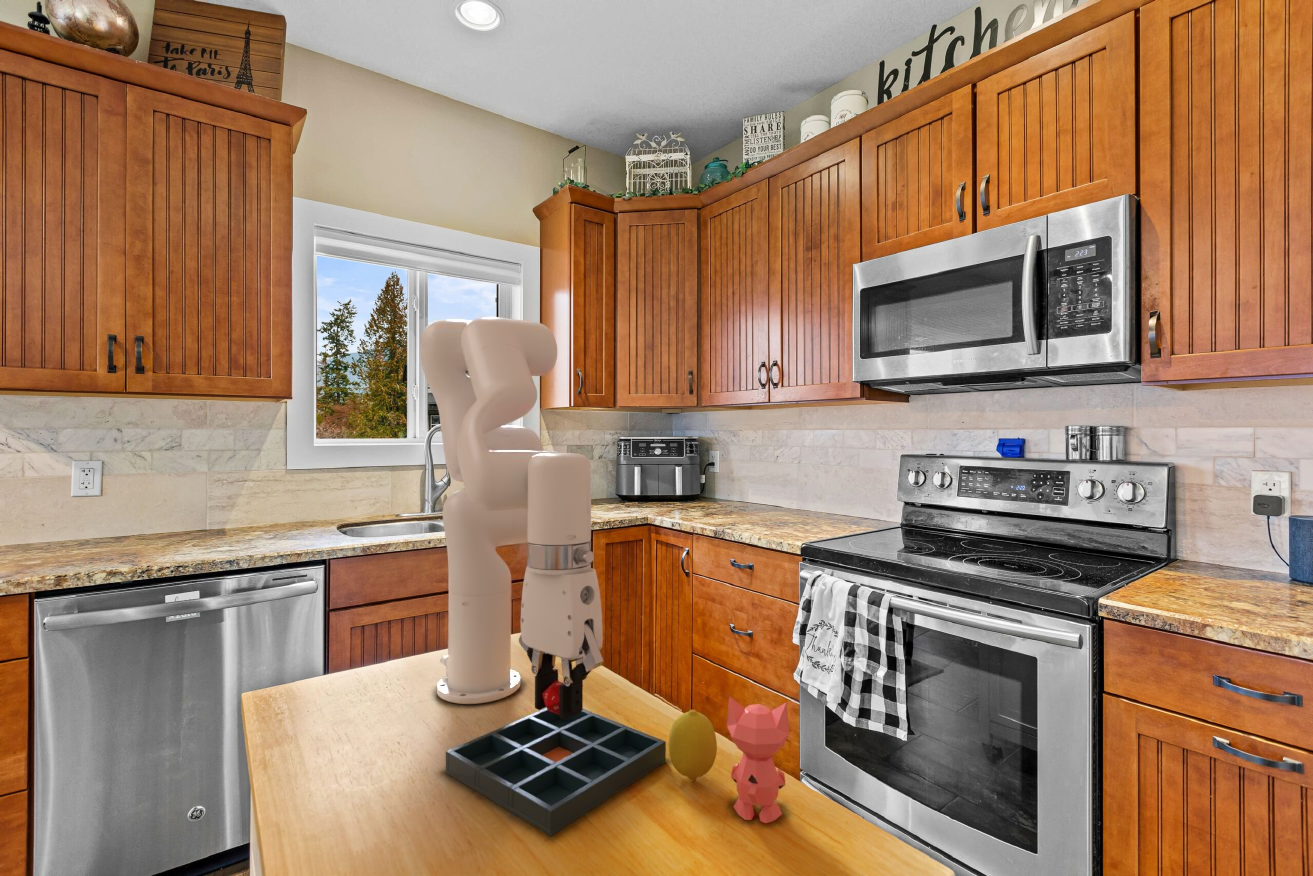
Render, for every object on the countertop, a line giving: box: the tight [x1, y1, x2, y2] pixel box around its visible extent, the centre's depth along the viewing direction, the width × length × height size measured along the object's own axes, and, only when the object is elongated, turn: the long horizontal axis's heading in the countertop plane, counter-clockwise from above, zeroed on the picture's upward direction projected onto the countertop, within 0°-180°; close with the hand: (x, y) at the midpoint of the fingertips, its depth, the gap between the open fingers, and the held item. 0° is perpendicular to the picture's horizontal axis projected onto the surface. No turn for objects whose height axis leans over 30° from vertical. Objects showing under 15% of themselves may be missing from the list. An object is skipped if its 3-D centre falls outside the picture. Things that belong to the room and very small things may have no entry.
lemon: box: [668, 709, 718, 782], centre depth 71 cm, size 6×6×8 cm
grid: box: [444, 707, 667, 837], centre depth 73 cm, size 18×18×2 cm
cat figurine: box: [726, 695, 792, 824], centre depth 64 cm, size 7×7×12 cm
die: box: [542, 680, 563, 714], centre depth 73 cm, size 4×4×4 cm
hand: (558, 709), depth 73 cm, fingers closed on die, 3 cm apart
